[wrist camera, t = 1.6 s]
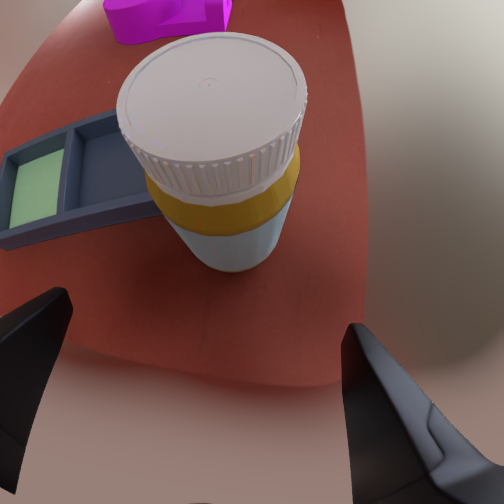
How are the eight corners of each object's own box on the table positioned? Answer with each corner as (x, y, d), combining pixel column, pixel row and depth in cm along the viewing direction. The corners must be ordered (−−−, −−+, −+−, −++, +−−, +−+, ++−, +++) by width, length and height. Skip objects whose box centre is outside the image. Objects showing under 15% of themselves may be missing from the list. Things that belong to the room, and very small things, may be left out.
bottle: (191, 187, 23) (133, 36, 9) (278, 187, 23) (309, 29, 9) (184, 272, 22) (78, 183, 7) (279, 274, 22) (334, 181, 7)
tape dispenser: (105, 50, 28) (90, 16, 22) (128, 14, 31) (119, -16, 25) (224, 36, 28) (221, -5, 22) (232, 3, 31) (231, -31, 25)
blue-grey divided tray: (181, 211, 23) (172, 196, 20) (6, 251, 22) (-12, 243, 19) (175, 115, 25) (168, 94, 22) (18, 165, 24) (3, 153, 21)
